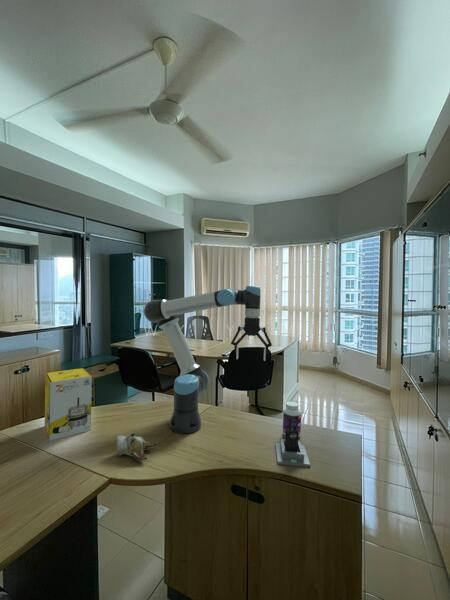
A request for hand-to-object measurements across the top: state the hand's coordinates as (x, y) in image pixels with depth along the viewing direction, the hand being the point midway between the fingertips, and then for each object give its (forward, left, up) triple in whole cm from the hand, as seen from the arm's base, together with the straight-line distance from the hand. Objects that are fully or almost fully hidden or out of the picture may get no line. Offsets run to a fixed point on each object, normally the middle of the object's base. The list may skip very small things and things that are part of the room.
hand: (250, 359), depth 142 cm
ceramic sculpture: (-44, -36, -32) cm, 66 cm away
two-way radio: (+18, -27, -31) cm, 44 cm away
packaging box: (-83, -21, -32) cm, 91 cm away
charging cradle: (+18, -27, -32) cm, 45 cm away
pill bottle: (+20, -10, -32) cm, 39 cm away
